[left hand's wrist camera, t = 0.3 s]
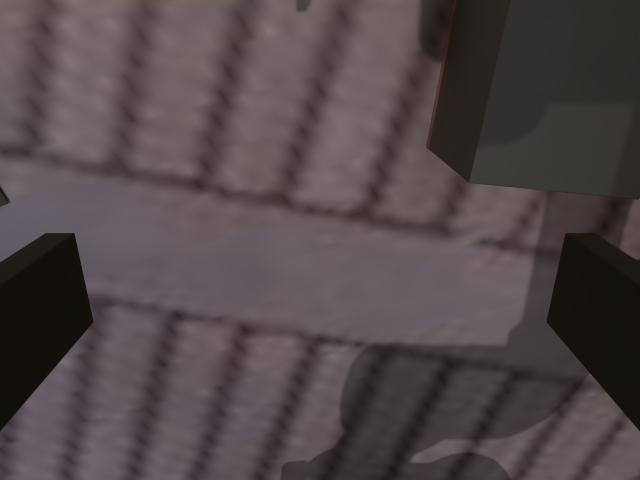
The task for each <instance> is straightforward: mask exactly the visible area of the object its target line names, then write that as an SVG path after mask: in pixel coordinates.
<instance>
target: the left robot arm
mask: <svg viewBox="0 0 640 480" xmlns="http://www.w3.org/2000/svg"><path fill="white" fill-rule="evenodd" d="M92 323H93V318H92V313H91V308H90V304H89V299H88V294H87V290H86V285H85V280H84V276H83V271H82V266H81V262H80V257H79V252H78V248H77V243H76V238H75V234H74V233H45V234H44V235H42V236H41V237H39V238H38V239H36V240H34V241H33V242H31V243H30V244H28V245H27V246H25V247H24V248H22V249H20V250H19V251H17V252H16V253H14V254H13V255H11V256H9V257H8V258H6V259H5V260H3V261H2V262H0V431H1V430H2V428H3V427H4V426H5V425H6V424H7V423H8V421H9V420H10V419H11V418H12V417H13V416H14V414H15V413H16V412H17V411H18V410H19V409H20V407H21V406H22V405H23V404H24V403H25V402H26V400H27V399H28V398H29V397H30V396H31V395H32V393H33V392H34V391H35V390H36V389H37V388H38V386H39V385H40V384H41V383H42V382H43V381H44V379H45V378H46V377H47V376H48V375H49V374H50V372H51V371H52V370H53V369H54V368H55V366H56V365H57V364H58V363H59V362H60V361H61V359H62V358H63V357H64V356H65V355H66V354H67V352H68V351H69V350H70V349H71V348H72V347H73V345H74V344H75V343H76V342H77V341H78V340H79V338H80V337H81V336H82V335H83V334H84V333H85V331H86V330H87V329H88V328H89V327H90V326H91V324H92ZM547 323H548V324H549V326H550V327H551V328H552V329H553V330H554V331H555V333H556V334H557V335H558V336H559V337H560V338H561V340H562V341H563V342H564V343H565V344H566V345H567V347H568V348H569V349H570V350H571V351H572V352H573V354H574V355H575V356H576V357H577V358H578V359H579V361H580V362H581V363H582V364H583V365H584V366H585V368H586V369H587V370H588V371H589V372H590V374H591V375H592V376H593V377H594V378H595V379H596V381H597V382H598V383H599V384H600V385H601V386H602V388H603V389H604V390H605V391H606V392H607V393H608V395H609V396H610V397H611V398H612V399H613V400H614V402H615V403H616V404H617V405H618V406H619V407H620V409H621V410H622V411H623V412H624V413H625V414H626V416H627V417H628V418H629V419H630V420H631V421H632V423H633V424H634V425H635V426H636V427H637V428H638V430H639V431H640V262H638V261H637V260H635V259H634V258H632V257H631V256H629V255H627V254H626V253H624V252H623V251H621V250H620V249H618V248H616V247H615V246H613V245H612V244H610V243H609V242H607V241H606V240H604V239H602V238H601V237H599V236H598V235H596V234H595V233H566V234H565V238H564V243H563V248H562V252H561V257H560V262H559V266H558V271H557V276H556V280H555V285H554V290H553V294H552V299H551V304H550V308H549V313H548V318H547Z"/></svg>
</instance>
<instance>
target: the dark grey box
mask: <svg viewBox="0 0 640 480" xmlns="http://www.w3.org/2000/svg"><path fill="white" fill-rule="evenodd" d="M426 148H427V149H428V150H430V151H432V152H433V153H434V154H435V155H436V156H438V157H439V158H440V159H441V160H442V161H444V162H445V163H446V164H447V165H448V166H450V167H451V168H452V169H453V170H454V171H456V172H457V173H458V174H459V175H461V176H462V177H463V178H464V179H465V180H466V181H468V182H469V183H476V184H486V185H496V186H506V187H516V188H526V189H537V190H547V191H557V192H567V193H577V194H587V195H597V196H608V197H618V198H628V199H639V198H640V0H454V1H453V6H452V12H451V17H450V23H449V28H448V33H447V39H446V44H445V50H444V55H443V60H442V66H441V71H440V77H439V82H438V87H437V93H436V98H435V104H434V109H433V114H432V120H431V125H430V130H429V136H428V141H427V147H426Z"/></svg>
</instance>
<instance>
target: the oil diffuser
mask: <svg viewBox="0 0 640 480" xmlns="http://www.w3.org/2000/svg"><path fill="white" fill-rule="evenodd" d="M5 204H8V202H7V201H6V199H5V197H4V196H3V194H2V193H1V191H0V206H3V205H5Z"/></svg>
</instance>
